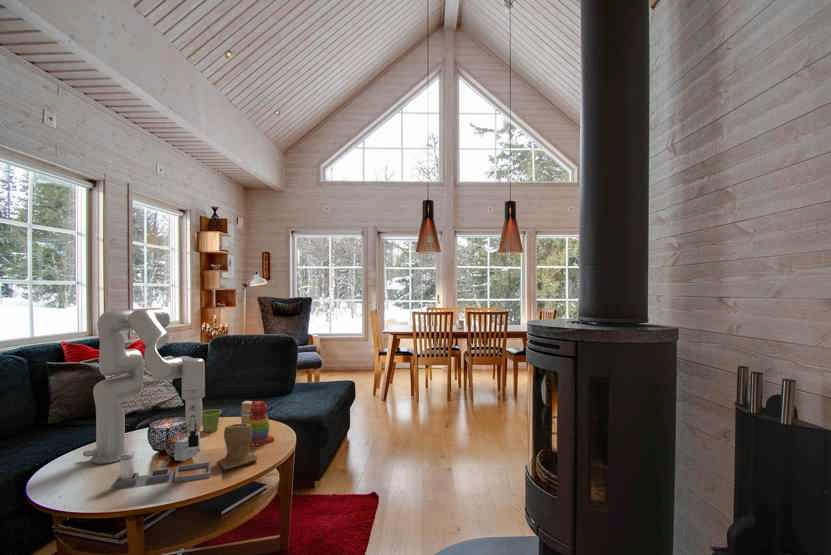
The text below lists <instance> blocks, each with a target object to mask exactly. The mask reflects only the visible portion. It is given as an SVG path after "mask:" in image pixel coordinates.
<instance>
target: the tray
mask: <svg viewBox="0 0 831 555" xmlns="http://www.w3.org/2000/svg"><path fill="white" fill-rule="evenodd" d="M211 463H212V462H211V461H206V462H198V463H191V464H183V465H177V466H176V468H175V469H176V470H175V472H174V476H173V482H174V483H179V482H186V481H187V482H189V481H194V480H195V481H196V480H201V479H202V480H203V479H207V478H208V479H209V478H211V468H212V467H211ZM202 468H208V471H207V472H203V473H202V472H201V473H196V474H195V473H194V474H189V475H182V476H179V472H181V471H189V470H194V469H202Z"/></svg>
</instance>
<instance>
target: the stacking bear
mask: <svg viewBox="0 0 831 555" xmlns="http://www.w3.org/2000/svg"><path fill="white" fill-rule="evenodd" d="M252 401H253V402H252V406H251V413H252V415H251V416H250V418H249V420H248V424H250V425H251V427H252V440H251V443H250V444H254V445H253V446H257V445H256V444H263V445H265V444H264V443H267V444H269V443H268V442H270V443H272V442H274V441H275V436H272V435H269V431H270V420H269V417H268V415H267V410H268V405H267V404H266V402H264V401H263V400H262V401H261V400H258V401H256V402H255V400H252ZM271 441H272V442H271Z"/></svg>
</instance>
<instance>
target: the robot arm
mask: <svg viewBox="0 0 831 555" xmlns="http://www.w3.org/2000/svg"><path fill="white" fill-rule="evenodd" d="M170 322H171V317H170V314H169V312H168V311H167V310H166V309H164V308H163V307H162V308H161V307H151V308H149V307H148V308H131V309H130V308H129V309H128V308H127V309H125V308H124V309H113V310H108V311H105V312H103V313H102V314H101V315H100V316H99V317H98V319H97V323H96V324H97V326H96V329H97V334H98V338H99V350H98V352H99V355H98V368H99V369H98V370H99V372H100V374H101V375H102V376H106V377H107V376H116V375H121V374H123V376H116V377H111V378H106V379H103V380H100V381H99V382H98V383H96V384H95V385H94V386H93V390H92V393H93V400H94V405H95V416H96V417H95V418H96V419H95V422H96V424H95V426H96V427H95V429H96V430H95V431H96V432H95V433H96V434H95V438H96V439H95V440H96V441H95V442H96V444H95V448H93V449H89V450H87V449H86V450H83V452H82V456H84V457H85V458H87V457H91V463H92V464H96V465H105V464H106V465H107V464H113V463H117V462H120V454H122V453H124V452H129V450H127V449H125V446H126V445H125V441H126V440H125V439H126V437H125V435H126V431H125V429H126V428H125V425H126V424H125V422H126V420H125V419H126V416H125V414H126V413H125V409H124V407H122V405H121V404H120V402H121V401H124V400H129V399H130V400H131V399H133V398H137V397H138V396H140V395H141V393H142V391H143V389H144V388H143V387H144V371H145V370H144V368H145V366H146V369H147V370H148V371H149V372H150V373H151V375H152V376H153V377H154V379H157V380H158V381H162V382H163V381H164V382H165V381H170V380H174V379H180V378H181V400H184V401H185V423H186V425H185V426H186V428H189V436H188V435H187V436H188V447H197V446H198V435H197V428H198V426H200V428H201V427H203V425H202V411H203V398H205V397H206V382H205V381H206V370H205V369H206V367H205V366H206V365H205V360H204V359H203V358H199V357H196V358H195V357H191V356H188V355H182V356H181V355H180V356H175V357H170V358H163V357H162V356H161V355H160V353H159V352H158V350H159V349H161V348H162V347H164V346H165V345H166V344H167V342H168V340H169V339H170V335H169V334H170V333H168V331H167V330H166V328H167V327H168V326H169V324H170ZM127 331H134V333H135V334H136V335H137V336H138V338H139V339H140V340H141V342H142V343H143V345H144V346H145V349H144V353H142V352H141V351H140V350H139V349H137V348H127V349H126V339H125V337H124V335H123V334H122V332H127ZM124 374H125V375H124ZM190 425H191V427H190ZM195 425H196V426H195ZM195 428H196V429H195Z"/></svg>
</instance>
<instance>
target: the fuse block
mask: <svg viewBox="0 0 831 555" xmlns="http://www.w3.org/2000/svg"><path fill="white" fill-rule="evenodd" d="M171 469H172V468H170V467H169V468H163V469H155V470H151V471H150V474H145V475H140V474H139V472H134V479H129V480H121V481H120V474H119V475H118V476H117V478H116V479H115V481H114V483H113V485H112V487H111V489H110V492H112V491H121V490H126V489H127V490H128V489H135V488H141V487H142V488H143V487H149V486H155V485H156V486H157V485H161V484H162V485H163V484H169V483H172V482H173V479H174V475H175V471H172V470H171Z"/></svg>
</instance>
